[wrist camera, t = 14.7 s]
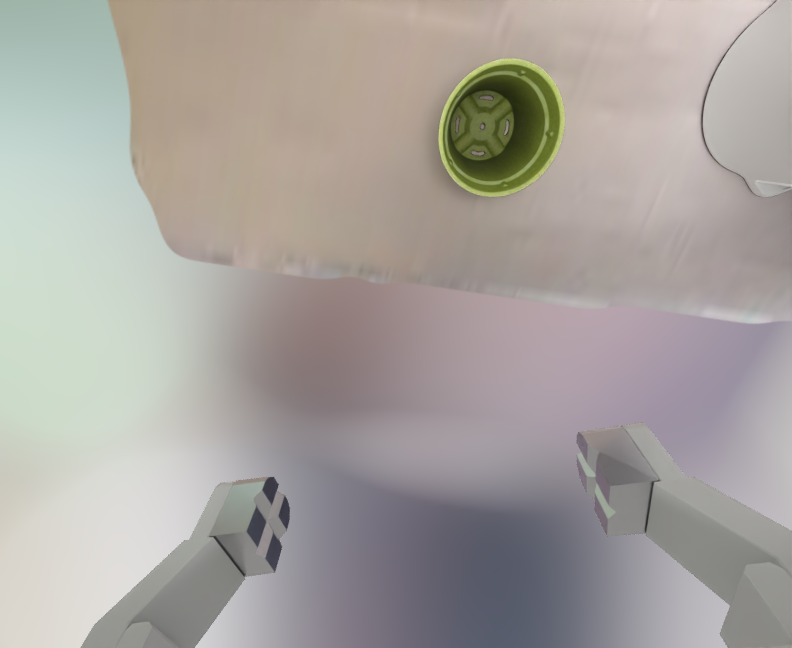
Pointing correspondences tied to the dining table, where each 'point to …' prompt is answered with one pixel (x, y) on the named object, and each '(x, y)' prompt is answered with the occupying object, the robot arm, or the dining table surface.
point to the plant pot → (501, 127)
